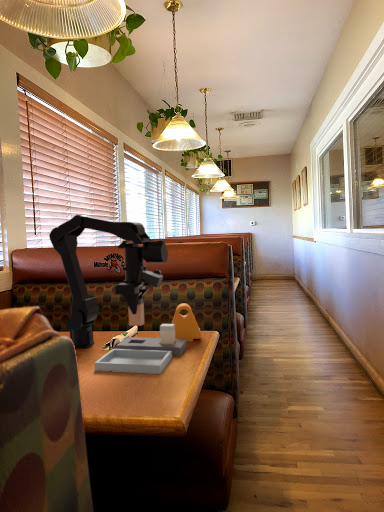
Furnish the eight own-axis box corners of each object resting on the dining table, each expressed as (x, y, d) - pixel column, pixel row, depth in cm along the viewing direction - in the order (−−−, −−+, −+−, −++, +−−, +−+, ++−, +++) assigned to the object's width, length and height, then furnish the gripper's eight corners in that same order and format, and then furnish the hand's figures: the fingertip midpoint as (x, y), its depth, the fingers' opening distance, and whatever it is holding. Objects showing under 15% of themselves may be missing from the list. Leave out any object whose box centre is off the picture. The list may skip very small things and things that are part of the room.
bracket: (199, 335, 131) (198, 301, 130) (200, 340, 124) (199, 305, 123) (169, 336, 131) (168, 302, 130) (168, 342, 123) (167, 306, 123)
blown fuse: (129, 325, 114) (128, 299, 114) (132, 323, 117) (131, 298, 117) (141, 325, 114) (140, 299, 113) (144, 323, 116) (143, 298, 116)
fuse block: (116, 353, 113) (116, 345, 112) (127, 344, 121) (127, 337, 121) (180, 355, 109) (180, 347, 108) (187, 346, 117) (187, 338, 117)
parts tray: (94, 370, 98) (94, 362, 98) (113, 356, 110) (112, 348, 110) (160, 374, 95) (159, 365, 95) (171, 358, 106) (171, 351, 106)
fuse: (160, 351, 113) (159, 325, 112) (163, 349, 116) (162, 323, 115) (173, 352, 112) (172, 326, 112) (175, 349, 115) (174, 324, 114)
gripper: (150, 265, 104) (151, 320, 105) (167, 260, 122) (169, 307, 123) (112, 265, 106) (114, 319, 107) (135, 260, 124) (137, 307, 125)
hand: (136, 313), depth 115 cm, fingers closed on blown fuse, 3 cm apart
